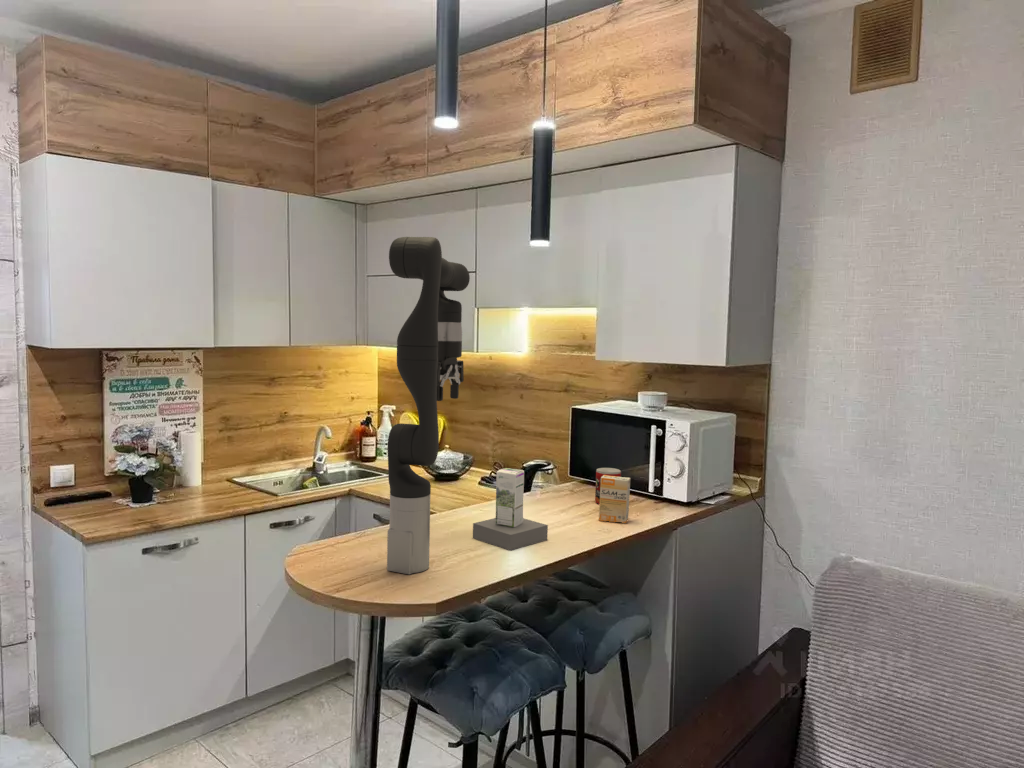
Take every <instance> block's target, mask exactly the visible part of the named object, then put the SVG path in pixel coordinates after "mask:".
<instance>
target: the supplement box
mask: <svg viewBox="0 0 1024 768" xmlns="http://www.w3.org/2000/svg"><path fill="white" fill-rule="evenodd" d="M630 490H631V477H625V476H624V477H622V476H621V477H617V476H608V475H603V476H602V477H601V485H600V505H599V504H598V505H599V507H598V510H599V511H598V521H600V522H606V521H609V522H608V523H615V522H622V523H621V524H623V523H626V524H627V523H628V521H629V512H630V508H629V507H630V492H631V491H630ZM627 520H628V521H627Z"/></svg>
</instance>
